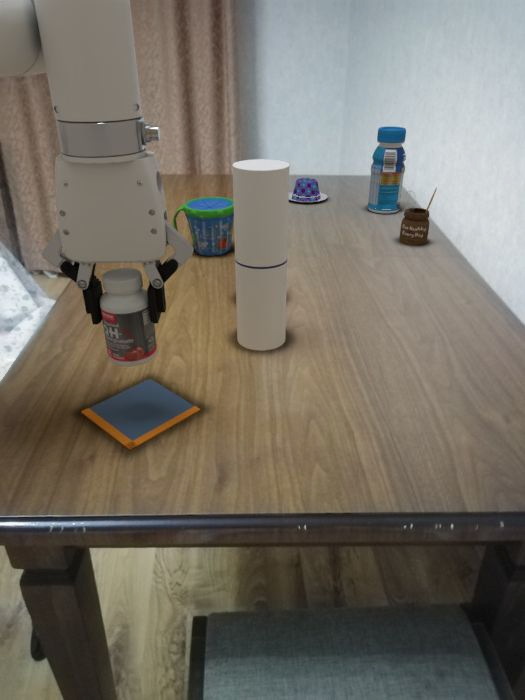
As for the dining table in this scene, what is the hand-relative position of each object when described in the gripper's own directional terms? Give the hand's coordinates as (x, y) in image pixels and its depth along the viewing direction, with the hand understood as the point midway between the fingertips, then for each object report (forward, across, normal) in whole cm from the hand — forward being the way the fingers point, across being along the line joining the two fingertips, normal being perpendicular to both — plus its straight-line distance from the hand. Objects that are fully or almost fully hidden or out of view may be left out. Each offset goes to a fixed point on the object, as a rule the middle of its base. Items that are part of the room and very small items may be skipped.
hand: (127, 316), depth 58 cm
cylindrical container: (+13, -15, -18) cm, 26 cm away
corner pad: (+13, 0, 0) cm, 13 cm away
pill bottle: (+5, 0, 0) cm, 5 cm away
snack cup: (+13, -6, -57) cm, 58 cm away
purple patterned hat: (+13, -30, -99) cm, 104 cm away
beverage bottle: (+13, -49, -87) cm, 101 cm away
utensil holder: (+13, -50, -61) cm, 79 cm away
